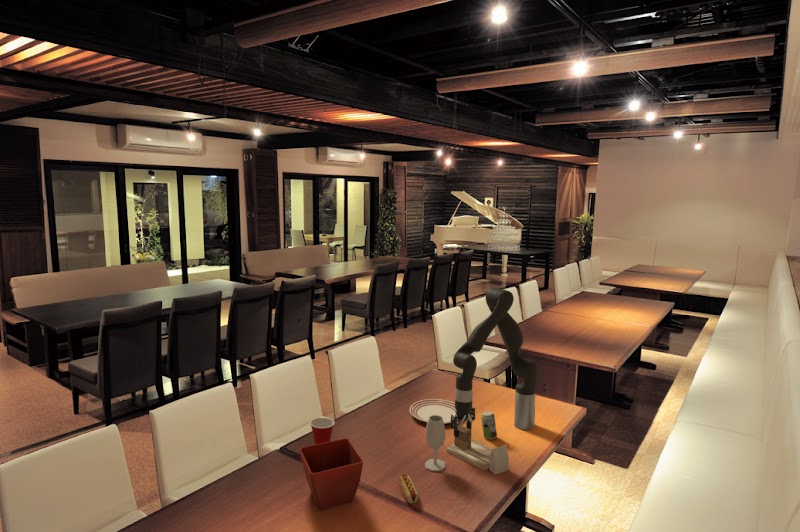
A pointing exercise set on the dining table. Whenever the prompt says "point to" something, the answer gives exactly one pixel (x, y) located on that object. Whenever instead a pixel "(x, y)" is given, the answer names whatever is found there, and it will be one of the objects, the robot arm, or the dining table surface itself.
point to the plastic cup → (322, 429)
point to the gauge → (463, 438)
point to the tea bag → (499, 460)
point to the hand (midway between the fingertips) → (462, 433)
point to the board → (473, 454)
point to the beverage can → (489, 425)
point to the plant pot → (332, 472)
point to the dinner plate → (433, 409)
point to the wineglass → (435, 441)
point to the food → (408, 489)
